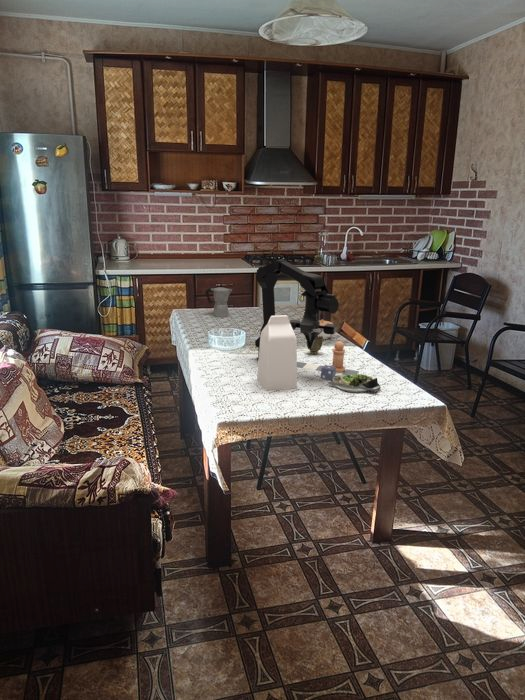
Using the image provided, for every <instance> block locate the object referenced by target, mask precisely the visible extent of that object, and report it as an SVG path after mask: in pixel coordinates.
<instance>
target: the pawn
mask: <svg viewBox="0 0 525 700" xmlns="http://www.w3.org/2000/svg"><path fill="white" fill-rule="evenodd" d="M333 347H334V348H333V349H332V350H331V351H332V353H333V354H332V364H331V365H330V366H335V367H336V373H343V372H345V369H346V366H344V356H345V353H346V349H344V348H345V344H344V342H342V341H341V340H338V341H336V342H335V343H334V346H333Z"/></svg>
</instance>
